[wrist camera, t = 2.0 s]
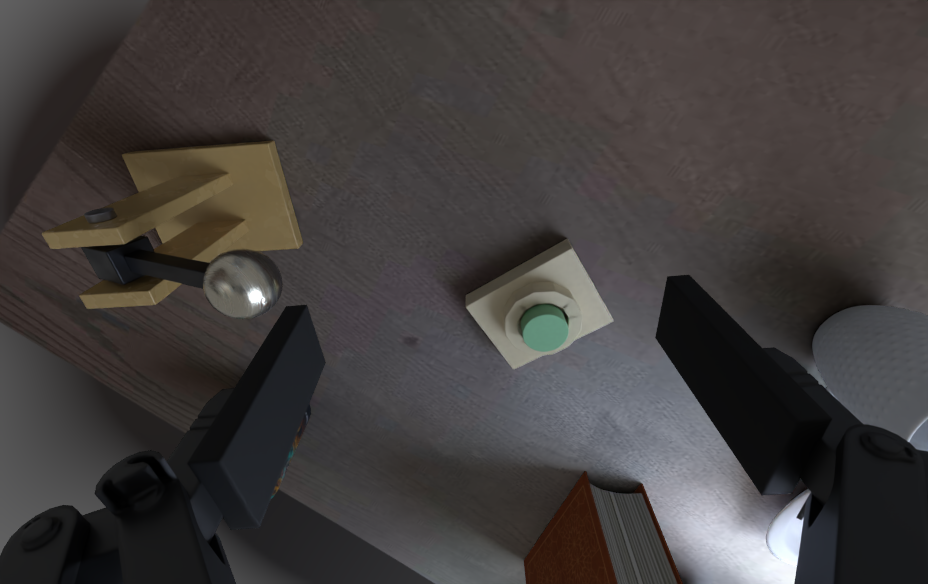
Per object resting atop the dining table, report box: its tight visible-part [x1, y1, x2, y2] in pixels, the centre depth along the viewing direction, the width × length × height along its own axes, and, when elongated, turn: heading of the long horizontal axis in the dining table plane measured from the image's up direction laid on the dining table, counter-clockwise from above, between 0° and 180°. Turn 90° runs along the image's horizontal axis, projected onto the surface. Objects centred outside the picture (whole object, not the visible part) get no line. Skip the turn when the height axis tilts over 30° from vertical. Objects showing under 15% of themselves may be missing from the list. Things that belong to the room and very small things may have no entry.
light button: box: [521, 304, 569, 352], centre depth 37 cm, size 4×4×2 cm
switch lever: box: [81, 236, 283, 319], centre depth 24 cm, size 14×4×4 cm, turn 94°
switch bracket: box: [42, 141, 303, 309], centre depth 30 cm, size 12×9×14 cm
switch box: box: [465, 239, 614, 370], centre depth 39 cm, size 11×9×4 cm
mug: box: [812, 305, 928, 451], centre depth 38 cm, size 15×11×13 cm
